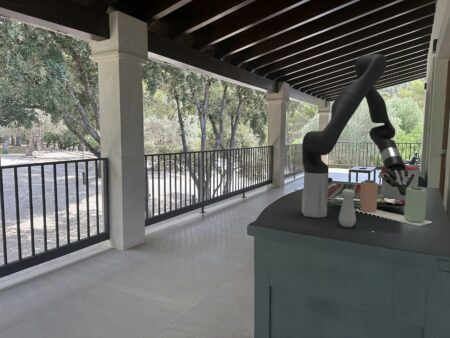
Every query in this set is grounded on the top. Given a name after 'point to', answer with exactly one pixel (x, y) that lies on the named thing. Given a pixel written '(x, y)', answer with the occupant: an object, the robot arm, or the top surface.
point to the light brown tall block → (368, 195)
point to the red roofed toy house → (393, 191)
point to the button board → (393, 217)
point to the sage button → (415, 204)
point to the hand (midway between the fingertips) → (404, 194)
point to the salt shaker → (347, 209)
